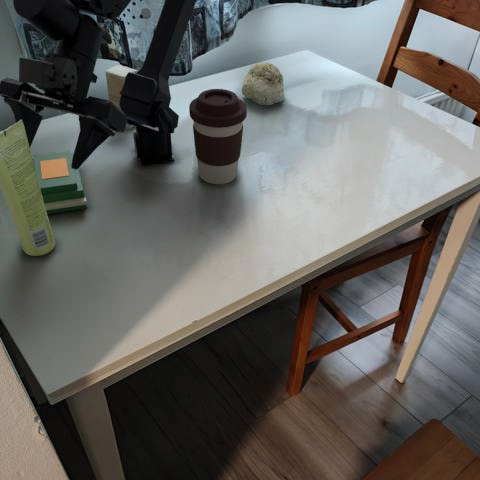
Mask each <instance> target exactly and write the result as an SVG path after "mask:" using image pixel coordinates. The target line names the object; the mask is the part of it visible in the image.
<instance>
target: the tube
mask: <svg viewBox="0 0 480 480" xmlns="http://www.w3.org/2000/svg"><path fill="white" fill-rule="evenodd" d="M32 158H33V156H32V152H31V147H30V148H29V143H28V139H27V135H26V131H25V127H24V124H23V121H22V120H20V121H18V122H17V123H16V122H15V123H14V124H12V125H10V126H8V127H7V128H6V129H3V130H2V131H0V190H1V192H2V195H3V197H4V200H5V203H6V206H7V208H8V211H9V214H10V217H11V219H12V222H13V225H14V228H15V230H16V233H17V236H18V240H19V242H20V245H21V249H22V250H23V253H25V254H26V255H28V256H31V257H39V256H44V255H47V254H49V253H50V252H52V251H53V250H54V248H55V246H56V241H55V237H54V234H53V230H52V226H51V223H50V220H49V219H50V218H49V216H48V214H47V212H46V208H45V205H44V201H43V197H42V194H41V190H40V186H39V182H38V179H37V175H36V171H35V167H34V163H33V159H32Z"/></svg>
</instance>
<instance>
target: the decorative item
mask: <svg viewBox="0 0 480 480" xmlns="http://www.w3.org/2000/svg"><path fill="white" fill-rule="evenodd" d="M284 89H285V86H284V75H283V74H282V73H281V70H280V69H279V68H278V67H277V66H276V65H275V64H273V63H271V62H258V63H256V64H254V65H252V66H251V67H250V68H249V69H248V70H247V73H246V75H245V77H244V79H243V82H242V86H241V93H242V95H243V96H244V97H245V98H246V99H249V100H251V101H253V102H254V103H256V104H257V105H259V106H271V105H273V104H276V103H280V102H282V101H284V98H285V90H284Z"/></svg>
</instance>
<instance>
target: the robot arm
mask: <svg viewBox="0 0 480 480" xmlns="http://www.w3.org/2000/svg"><path fill="white" fill-rule="evenodd" d="M131 1H132V0H13V3H12V4H13V8H14V11H15V12H16V13H17V15H18V16H19V17H21V18H22V19H23V20H24V21H26V23H28V24H30V26H32V27H33V28H35V30H37V31H38V32H40V33H41V34H42V35H43V36H45V37H46V38H47V39H49V40H50V41H52V42H53V41H54V42H57V43H56V47H55V51H54V52H47V54H46V55H45V57H44V60H39V59H33V58H27V57H21V56H19V57H18V79H15V78H11V77H5V78H4V79H2V80H0V97H1V98H3V102H4V104H6V105H8V106H9V108H10V110H11V112H12V113H13V116H14V121H15V123H17V122H18V121H20V120H22V121H23V124H24V127H25V131H26V135H27V139H28V143H29V148H30V149H31V147H32V145H33V142H34V139H35V138H36V134H37V133H38V130H39V128H40V125H41V123H42V121H43V119H44V116H43V115H41V114H40V113H41V112H42V111H44V110H45V108H47V109H51V110H55V111H59V112H63V113H66V114H67V113H68V114H72V115H76V116H78V124H79V133H78V136H77V140H76V144H75V148H74V151H73V153H74V154H73V159H72V165H71V167H72V168H73V169H75V170H77V169H78V168H79V169H80V167H81V166H82V165H83V164H84V163H85V161H87V159H88V158H89V157H90V156H91V155H92V154H93V153H94V152H95V150H97V149H98V148H99V147H100V146H101V145H102V144H103V143H104V142H106V140H107V139H108V138H110V137H112V138H114V137H115V136H116V132H117V133H120V134H124V133H125V130H126V128H125V126H126V123H127V124H129V125H133V126H135V127H134V129H135V131H133V132H132V137H133V144H134V145H133V146H134V152H135V155H136V158H137V159H139V161H140V163H141V165H142V166H149V165H156V164H162V163H171V162H174V161H175V160H176V159H175V156H174V153H173V145H172V143H173V142H172V134H174V133H175V129H177V128H178V127H179V119H180V115H179V114H178V113H177V112H175V110H174V109H172V108H171V107H170V105H171V101H172V96H171V90H170V89H171V88H170V84H169V80H170V76H171V74H172V71H173V67H174V65H175V62H176V59H177V57H178V54H179V51H180V48H181V45H182V42H183V39H184V36H185V35H186V31H187V28H188V25H189V23H190V19H191V17H192V14H193V11H194V8H195V5H196V3H197V1H198V0H164V3H163V5H162V7H161V8H162V9H161V12H160V14H159V17H158V20H157V23H156V25H155V29H154V31H153V35H152V37H151V41H150V44H149V47H148V50H147V51H146V55H145V58H144V61H143V64H142V67H141V68H140V69H139V70H137V73H136V74H134V73H131V72H129V73H128V74H127V75H126V77H125V82H124V86H123V88H122V90H121V91H120V93H119V94H120V95H121V97H120V101H119V106H120V108H121V110H120V109H119V108H118V107H117V106H116V105H115V104H113V103H112V102H111V101H109V99H104V98H100V97H96V96H91V95H89V96H88V94H89V93H88V92H89V90H90V86H91V83H93V84H97V81H98V75H96V73H94V71H95V68H96V64H97V60H98V56H99V53H100V49H101V46H102V44H106V45H112V44H113V39H112V36H111V34H110V32H109V31H108V26H107V24H106V23H103V22H97V20H96V19H94V18H93V17H92V16H91V15H93V16H96V17H100V18H105V19H108V20H116V19H117V18H119V17H120V16H121V15H122V13H123V12H124V11H125V10H126V8H127V7H128V6H129V5H130V4H131ZM88 14H89V15H88ZM31 84H32V85H31ZM33 85H34V86H33ZM39 90H40V91H39ZM41 91H43V92H41Z"/></svg>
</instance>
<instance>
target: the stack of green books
mask: <svg viewBox="0 0 480 480" xmlns="http://www.w3.org/2000/svg"><path fill="white" fill-rule="evenodd" d="M73 154H74V152H71V150H65V151H57V152H48V153H39V154H33V157H32V159H33V163H34V167H35V171H36V175H37V179H38V182H39V186H40V190H41V194H42V197H43V201H44V205H45V208H46V212H47V215H49V214H50V215H51V214H57V213H64V212H70V211H76V210H82V209H83V210H84V209H87V208H88V206H87V205H88V201H87V197H86V196H85V191H84V188H83V187H84V186H83V182H82V177H81V173H80V170H79V169H80V167H79V168H78V169H77V170H75V169H73V168H72V167H71V165H72V159H73Z"/></svg>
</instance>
